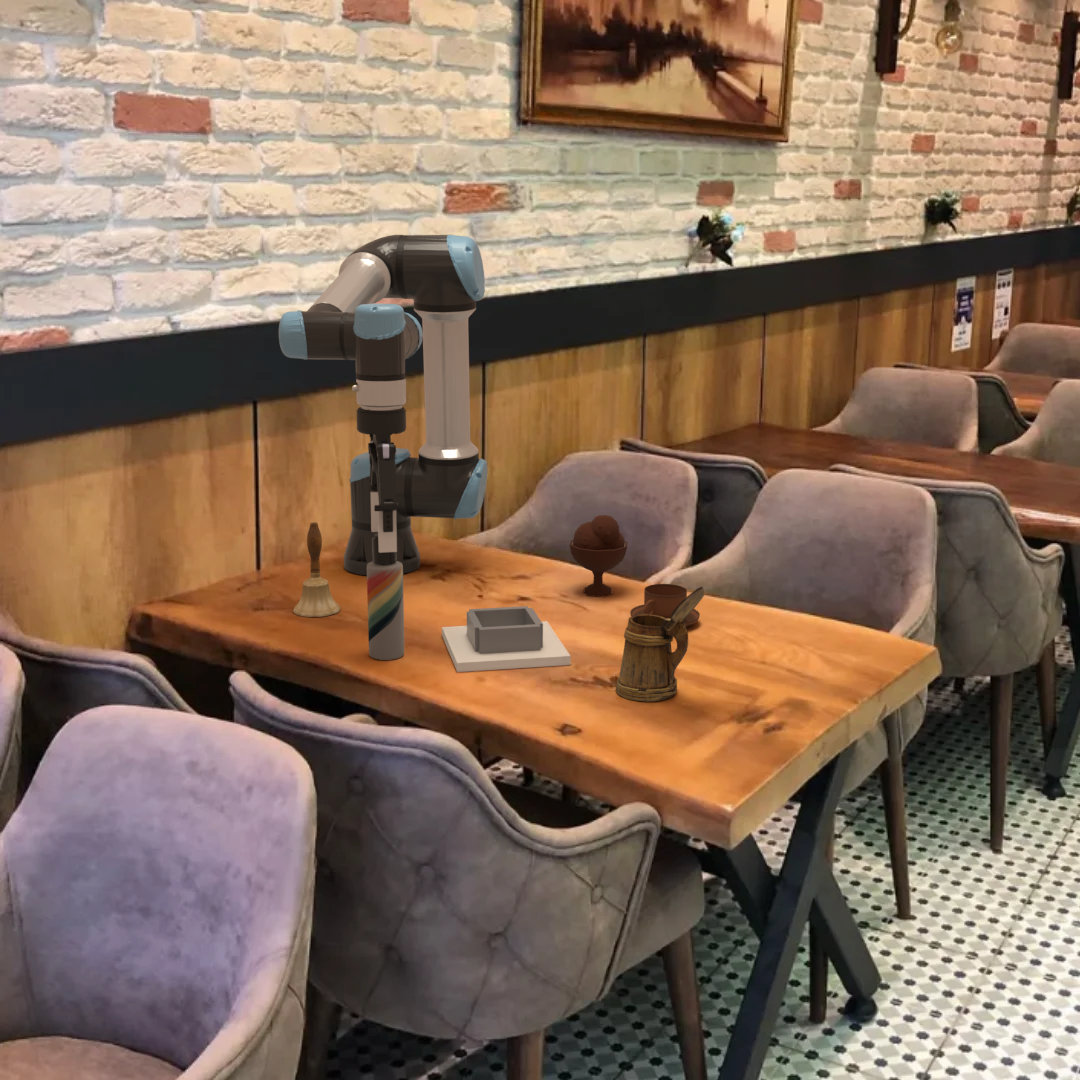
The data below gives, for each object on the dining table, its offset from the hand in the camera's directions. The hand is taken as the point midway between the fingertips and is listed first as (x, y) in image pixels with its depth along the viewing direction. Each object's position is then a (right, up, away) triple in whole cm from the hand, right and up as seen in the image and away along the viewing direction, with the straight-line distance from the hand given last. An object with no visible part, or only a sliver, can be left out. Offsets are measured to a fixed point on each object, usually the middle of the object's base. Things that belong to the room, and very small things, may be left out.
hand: (383, 541), depth 207 cm
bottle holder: (+19, -18, +8) cm, 27 cm away
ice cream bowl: (+35, -10, +40) cm, 54 cm away
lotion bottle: (0, -18, +5) cm, 19 cm away
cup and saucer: (+46, -14, +23) cm, 53 cm away
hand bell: (-15, -12, +28) cm, 34 cm away
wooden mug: (+42, -23, -11) cm, 49 cm away
